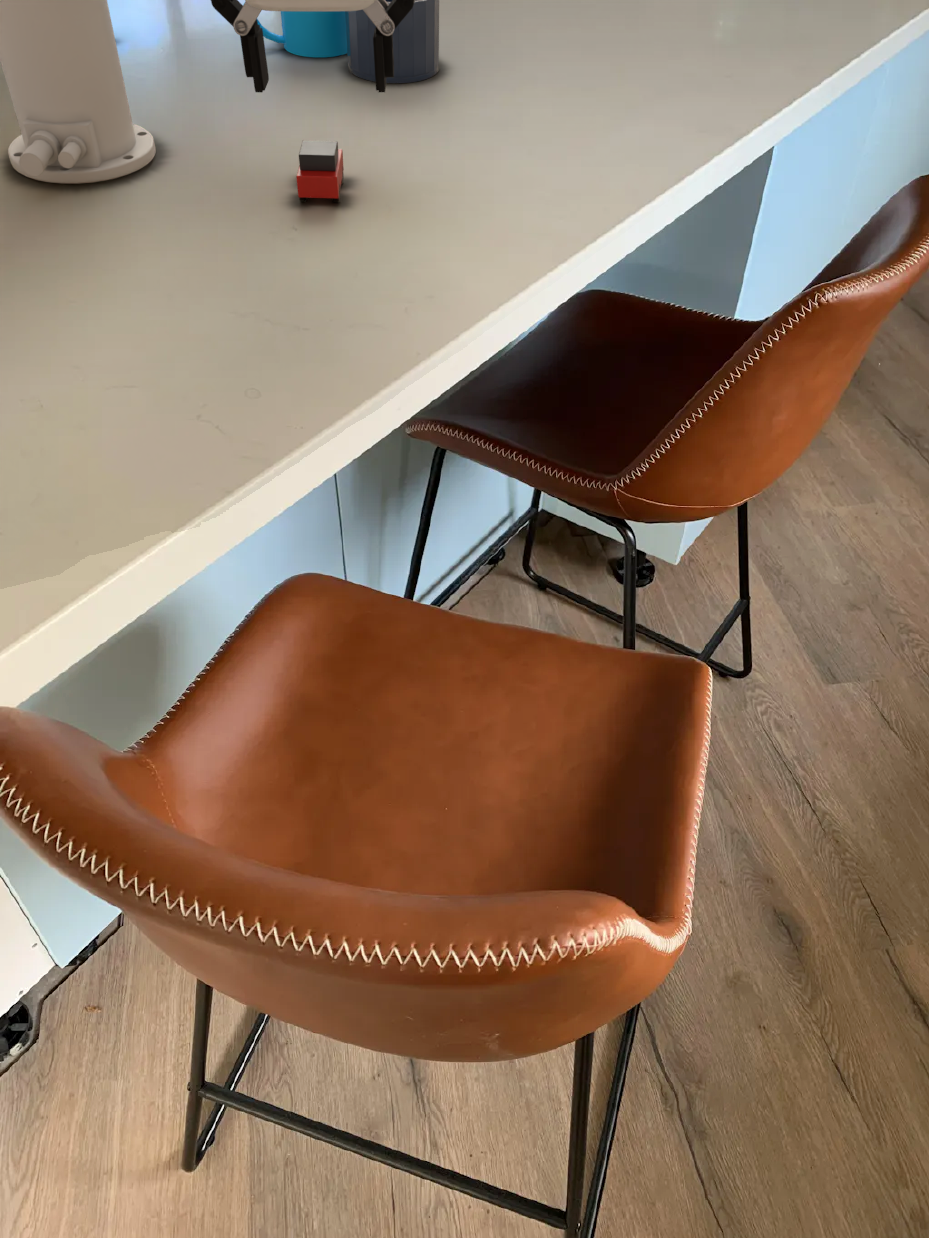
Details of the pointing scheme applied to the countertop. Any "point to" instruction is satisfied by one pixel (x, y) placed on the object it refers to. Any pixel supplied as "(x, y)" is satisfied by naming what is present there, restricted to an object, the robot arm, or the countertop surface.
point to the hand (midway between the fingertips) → (322, 87)
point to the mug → (312, 33)
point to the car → (320, 170)
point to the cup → (397, 44)
